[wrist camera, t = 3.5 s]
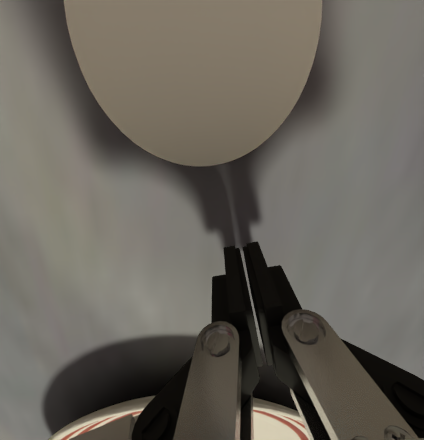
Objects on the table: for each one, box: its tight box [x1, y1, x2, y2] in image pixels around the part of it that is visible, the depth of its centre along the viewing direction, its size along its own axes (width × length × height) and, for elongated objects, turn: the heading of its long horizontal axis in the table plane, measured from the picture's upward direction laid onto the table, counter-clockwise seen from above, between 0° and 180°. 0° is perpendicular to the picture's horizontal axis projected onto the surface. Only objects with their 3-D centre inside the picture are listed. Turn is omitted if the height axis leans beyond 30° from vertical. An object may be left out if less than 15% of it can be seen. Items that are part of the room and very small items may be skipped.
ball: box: [64, 0, 322, 167], centre depth 6 cm, size 6×6×6 cm
